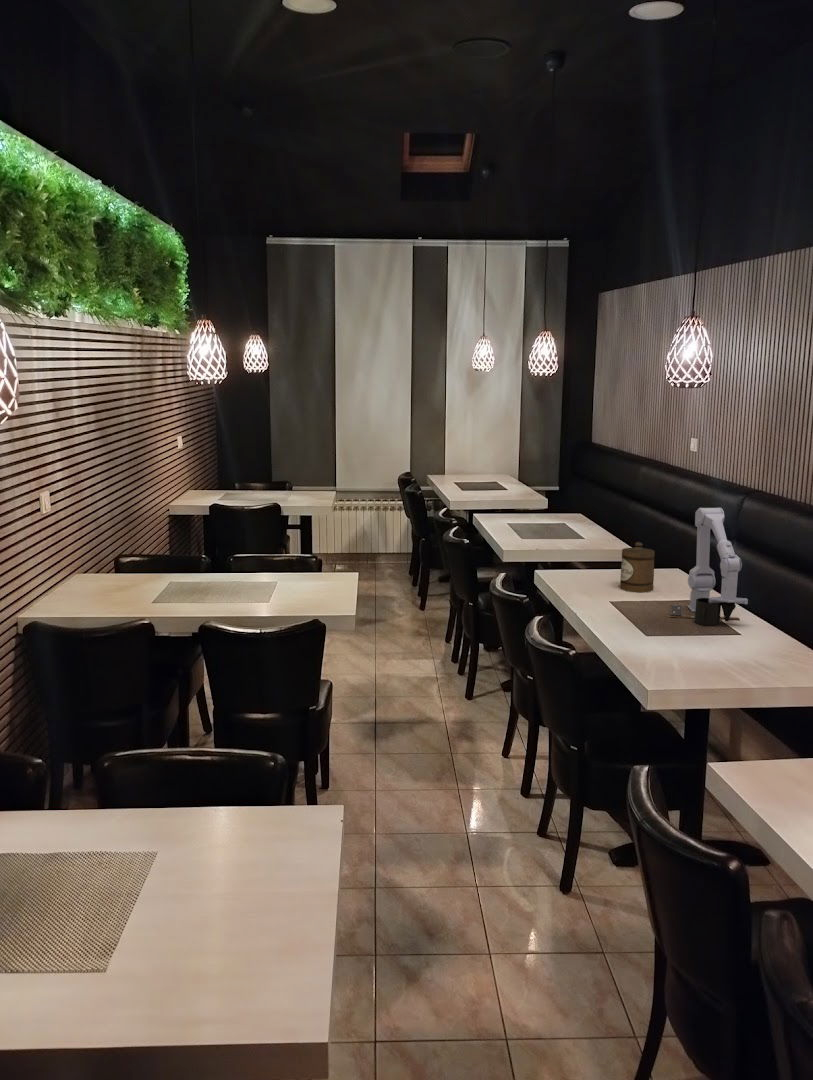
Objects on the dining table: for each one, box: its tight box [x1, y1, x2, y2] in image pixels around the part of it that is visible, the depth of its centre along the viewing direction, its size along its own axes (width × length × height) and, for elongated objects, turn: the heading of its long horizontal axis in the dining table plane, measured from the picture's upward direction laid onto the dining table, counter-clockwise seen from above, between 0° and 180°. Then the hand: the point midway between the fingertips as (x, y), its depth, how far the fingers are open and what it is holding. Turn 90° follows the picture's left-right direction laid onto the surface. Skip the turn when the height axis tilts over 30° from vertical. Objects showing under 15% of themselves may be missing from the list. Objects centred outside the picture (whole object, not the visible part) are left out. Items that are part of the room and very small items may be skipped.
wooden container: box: [619, 541, 656, 593], centre depth 398 cm, size 15×15×22 cm
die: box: [669, 604, 683, 615], centre depth 353 cm, size 4×4×4 cm
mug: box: [694, 598, 722, 627], centre depth 343 cm, size 9×12×9 cm
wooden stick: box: [665, 614, 741, 621], centre depth 351 cm, size 2×28×1 cm, turn 83°
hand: (726, 620), depth 342 cm, fingers closed
